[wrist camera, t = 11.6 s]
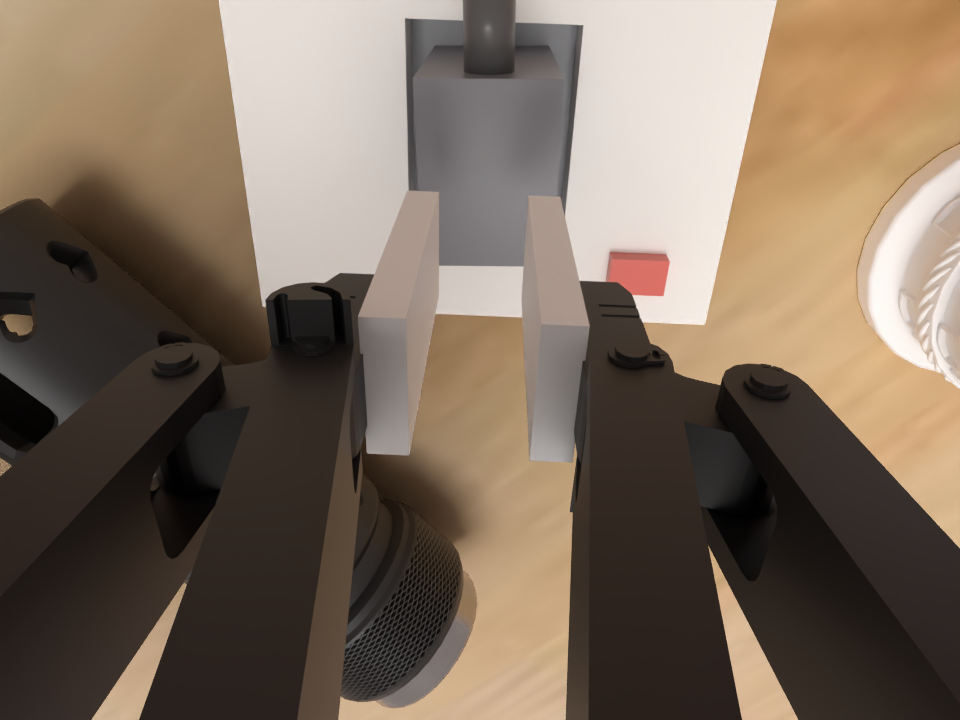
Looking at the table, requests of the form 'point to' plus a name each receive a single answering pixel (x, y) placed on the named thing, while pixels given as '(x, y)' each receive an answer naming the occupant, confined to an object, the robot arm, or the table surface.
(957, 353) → the decorative container
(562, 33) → the socket plate
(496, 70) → the plug
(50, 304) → the muzzle brake
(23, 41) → the table surface
